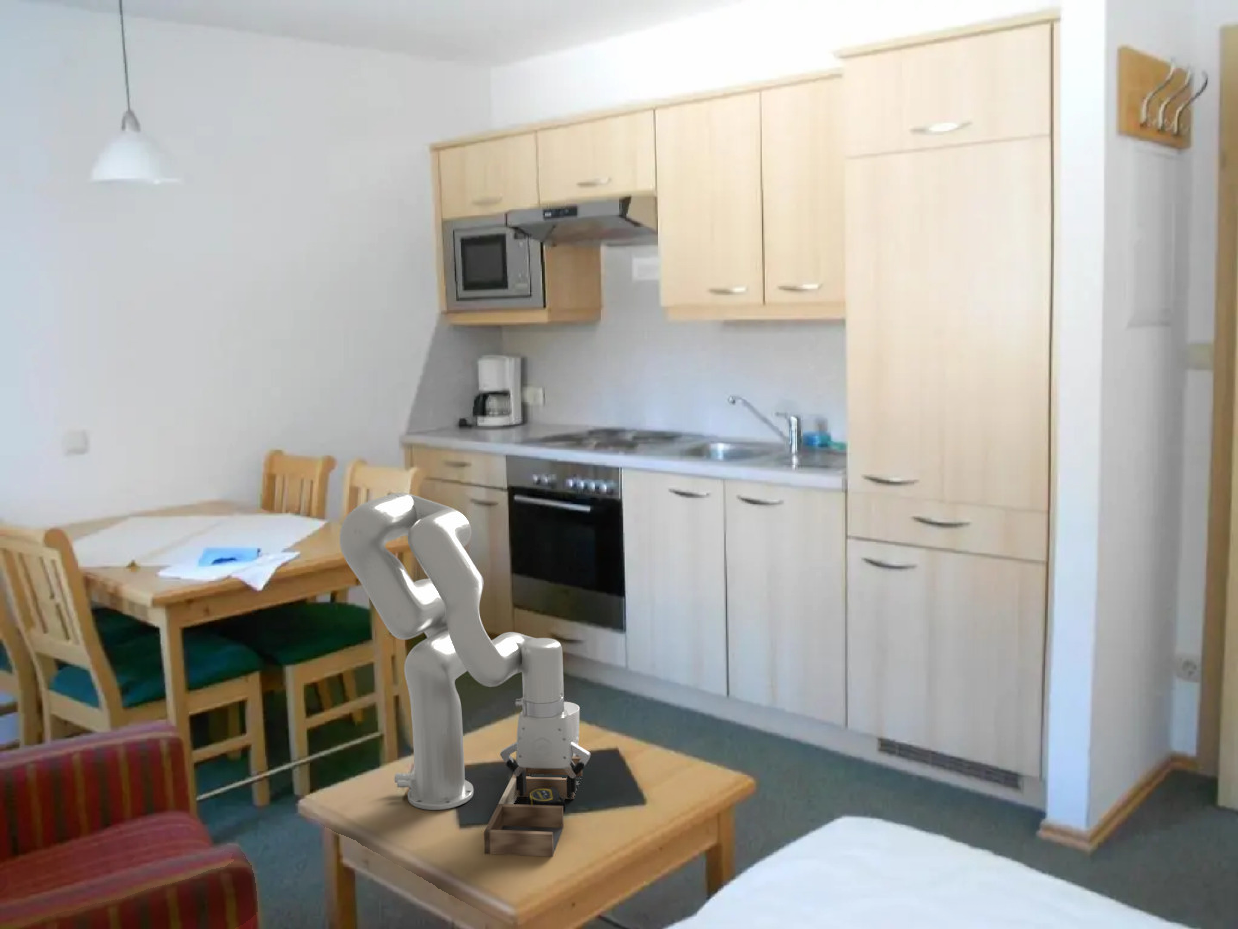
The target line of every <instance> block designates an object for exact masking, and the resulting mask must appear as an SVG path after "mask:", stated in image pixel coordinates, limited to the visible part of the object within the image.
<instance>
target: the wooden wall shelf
mask: <svg viewBox="0 0 1238 929" xmlns="http://www.w3.org/2000/svg"><path fill="white" fill-rule="evenodd" d="M571 760H572V761H573V763H574V764H575V765H576V764H577V763H578V762H579V761H580V760H581V757H580V756H578V755H576V756H573V757H572V758H571ZM524 770H525V771H526V786H527V790H526V792H525V794H524V796H523V797H528V795H529V793H530V792H532V791H534V790H537V789H542V788H544V789H549V788H552V787H555V788H556V789H557V790H558V791H559V794H560V796H561V797H562V798H566V799H570V798H567V777H566V778H562V777H531V775H532V774H537V775H538V774H544V775H546V774H552V775H568V774H567V773H566V771H565V770H564V769H533V768H525V769H524ZM528 774H530V776H529V775H528ZM577 776H578V777H577ZM580 776H582V777H583V769H582V770H581V771H580V772H579V773H578V774H577V775H576V779H579V778H580ZM580 779H581V780H582V778H580ZM578 782H579V781H576V785H580V783H578ZM576 791H577V792H578V789H577V788H576ZM577 792H575V793H576V794H577ZM575 793H574V792H573V794H572V797H571V799H574V800H575V797H576V794H575ZM574 796H575V797H574ZM517 797H520V795H519V790H517V787H516V776H515V775H514V773H513V774H512V776H511V778H510V780H509V782H508V784H507V785H506V788H505V790H504V792H503V794H502V796H501V798H500V800H499V802H498V804H497V805H496V808H495V809H494V811H493V814H492V816H491V818H490V820H489V822H488V823H487V826H486V827H485V829H484V832H483V840H484V841H483V842H484V843H483V844H484V854H487V855H506V856H507V855H509V856H510V855H511V856H530V857H531V856H536V857H554V854H555V851H556V849H557V845H558V843H559V841H560V838H561V835H562V832H563V829H564V824H565V822H564V813H563V806H549V805H527V804H514V803H516V802H515V801H517V799H518V798H517ZM516 798H517V799H516Z"/></svg>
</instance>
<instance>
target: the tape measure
mask: <svg viewBox="0 0 1238 929" xmlns="http://www.w3.org/2000/svg"><path fill="white" fill-rule="evenodd" d="M565 801H566V800H565V799H563V798H562V797H561V796H560V794H559V791H558V790H557V789H556V788H555V787H552V788H549V789H544V788H542V789H537V790H534V791H532V792H530V793H529V795H528V797H527V798H526V805H549V806H563V814H564V813H565V812H566V809H567V804H566V803H567V802H565Z"/></svg>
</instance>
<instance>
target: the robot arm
mask: <svg viewBox="0 0 1238 929" xmlns="http://www.w3.org/2000/svg"><path fill="white" fill-rule="evenodd" d="M404 536H406V537H407V544H408V546H409V547H408V548H410V551H411V553H412V554H413V556H414V558H415V559H416V560H417V562H418V564H419V565H420V568H422V570H423V572H424V573H425V575H426V576H427V578H423V579H418V580H415V581H413V579H412V578H411V577H410V575H409V573H408V571H407V570H406V568H405V566H404V564H403V562H401V560H400V559H399V558H398V557H397V556H396V555H395V554H394V553H392V552H391V551H389V549H387V547H386V544H387V543H388V542H392V541H394V540H396V539H399V538H402V537H404ZM471 538H472V526H471V524H470V522H469V520H468V519H467V517H466V516H465V515H464V514H463V513H462V512H460V511H459V510H457V509H455V508H453V507H450V506H448V505H444V504H443V503H442V504H441V503H439V502H437V501H436V502H435V501H434V500H433V501H432V500H430V499H426V498H423V497H421V496H418V495H414V494H411V493H407V492H396V493H391V494H388V495H387V494H386V495H385V496H382V497H379V498H375V499H372V500H369V501H366V502H364V503H362V504H360V505H358V506H356V507H355V508H354V509H352V510H351V511H350V512H349V513H348V514H347V515H346V516H345V518H344V520H343V522H342V525H341V528H340V533H339V546H340V551H341V553H342V556H343V558H344V560H345V562H346V563H347V565H348V566H349V568H350V569H351V571H352V572H353V573H354V575H355V576H356V578H357V579H358V581H359V582H360V585H361V586H362V587H363V589H364V591H365V592H366V595H367V597H368V598H369V600H370V601H371V603H372V606H374V608H375V609H376V612H377V613H378V616H379V617H380V619H381V620H382V622H383V624H384V625H385V627H386V629H387V630H388V631H389V633H390V634H391V635H392V636H393V637H395V638H396V639H398V640H404V641H405V640H410V639H413V638H415V637H418V636H420V635H421V634H423V633H424V634H425V636H426V638H425V639H423V640H422V641H420V642H418V643H417V644H416V645H414V646H413V648H412V649H411V650H410V651H409V652H408V655H406V658H405V660H404V661H405V662H404V666H403V668H404V671H403V672H404V677H405V681H406V686H407V689H408V693H409V694H408V695H409V702H410V711H411V714H410V715H411V723H412V742H413V743H412V744H413V745H412V746H413V758H414V759H413V763H414V766H413V767H414V771H412V772H411V773H405V772H396V773H395V775H394V782H395V783H394V784H396V787H397V788H408V789H409V790H408V792H407V800H408V802H409V804H411V805H412V806H414V807H415V808H418V809H421V810H426V811H427V810H428V811H438V810H439V811H440V810H441V811H442V810H448V809H452V808H456V807H459V806H461V805H463V804H465V803H467V802H469V801H470V800H471V799H472V798H473V796H474V786H473V784H472V783H471V782H469V781H468V780H466V779H465V778H466V776H465V773H466V772H465V755H464V754H465V752H464V735H463V734H464V732H463V730H464V729H463V728H464V727H463V715H462V714H463V713H462V704H461V699H460V695H459V693H458V690H457V688H456V684H455V683H456V682H455V681H456V679H458V678H460V676H462V675H463V674H465V673H466V672H468V673H469V675H470V676H471V677H472V678H473V680H475V681H476V682H477V683H479V684H480V685H482V686H484V687H490V688H492V687H497V686H500V685H502V684H503V683H505V682H506V681H508V680H509V679H510V678H512V677H513V676H514V675H516V674H519V673H521V676H522V678H521V679H522V697H520V698H516V699H515V707H520V708H521V709H522V711H521V712H520V713H518V714H519V715H518V721H517V728H516V729H517V730H516V741H515V742H513V743H512V744H510V745H508V746H507V747H505V748H502V750H501V751H500V753H499V755H500V757H501V759H502V760H503V762H504V763H505V764H506V765H505V766H507V768H508V769H509V770H510V771H511V772H512V773H513V774H514V775H515V776H516V787H517V790H519V795H520V797H523V796H524V794H525V792H526V790H527V786H526V771H525V770H524V769H525V768H533V769H564V770H565V771H566V773H567V774H568V777H567V798H570V799H571V797H572V794H573V792H576V775H577V774H578V773H579V772H580V771H581V770H582V771H583V770H584V769H585V766H586V765H587V763H588V762H589V760H590V758H591V756H592V753H591V752H590V751H588V750H586V749H585V748H583V747H582V746H580V745H579V744H578V745H577V744H575V743H574V742H573V741H572V732H571V725H570V720H569V716H568V712H567V710H564V702H565V695H564V694H565V693H564V690H565V689H564V664H563V663H564V662H563V661H564V658H563V657H564V656H563V646H562V644H561V643H560V641H558V640H557V639H554V638H549V637H538V638H536V637H532V636H528V635H525V634H523V633H519V632H515V631H508V632H504V633H502V634H500V635H498V636H497V637H495V638H493V639H491V638H490V637H489V635H488V633H487V632H486V630H485V627H484V624H483V622H482V619H481V616H480V615H481V614H480V602H481V598H482V594H483V589H484V583H485V581H484V578H483V575H482V574H481V573H480V571H479V570H478V568H477V567H476V565H475V563H474V562H473V560H472V558H471V557H470V555H469V554H468V552H467V551H466V549H465V547H466V546H467V545H468V544H469V542H470V541H471ZM514 753H516V754H515V755H516V756H515V757H516V759H515V758H513V757H512V754H514ZM573 753H575V754H576V756H577V757H581V760H580V761H579V762H578V763H577V764H576V765H575V764H574V763H573V761H572V760H571V758H572V757H573ZM576 793H577V792H576Z"/></svg>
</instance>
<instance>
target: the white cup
mask: <svg viewBox="0 0 1238 929" xmlns="http://www.w3.org/2000/svg"><path fill="white" fill-rule="evenodd" d="M564 710H567V712H568V716H569V720H570V725H571V732H572V741H573V742H574V743H575V744H577V745H578V746H579V739H580V735H579V734H580V706H579V705H578V704H576V703H574V702H569V701H564ZM573 756H577V755H576V754H575V753H573Z"/></svg>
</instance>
